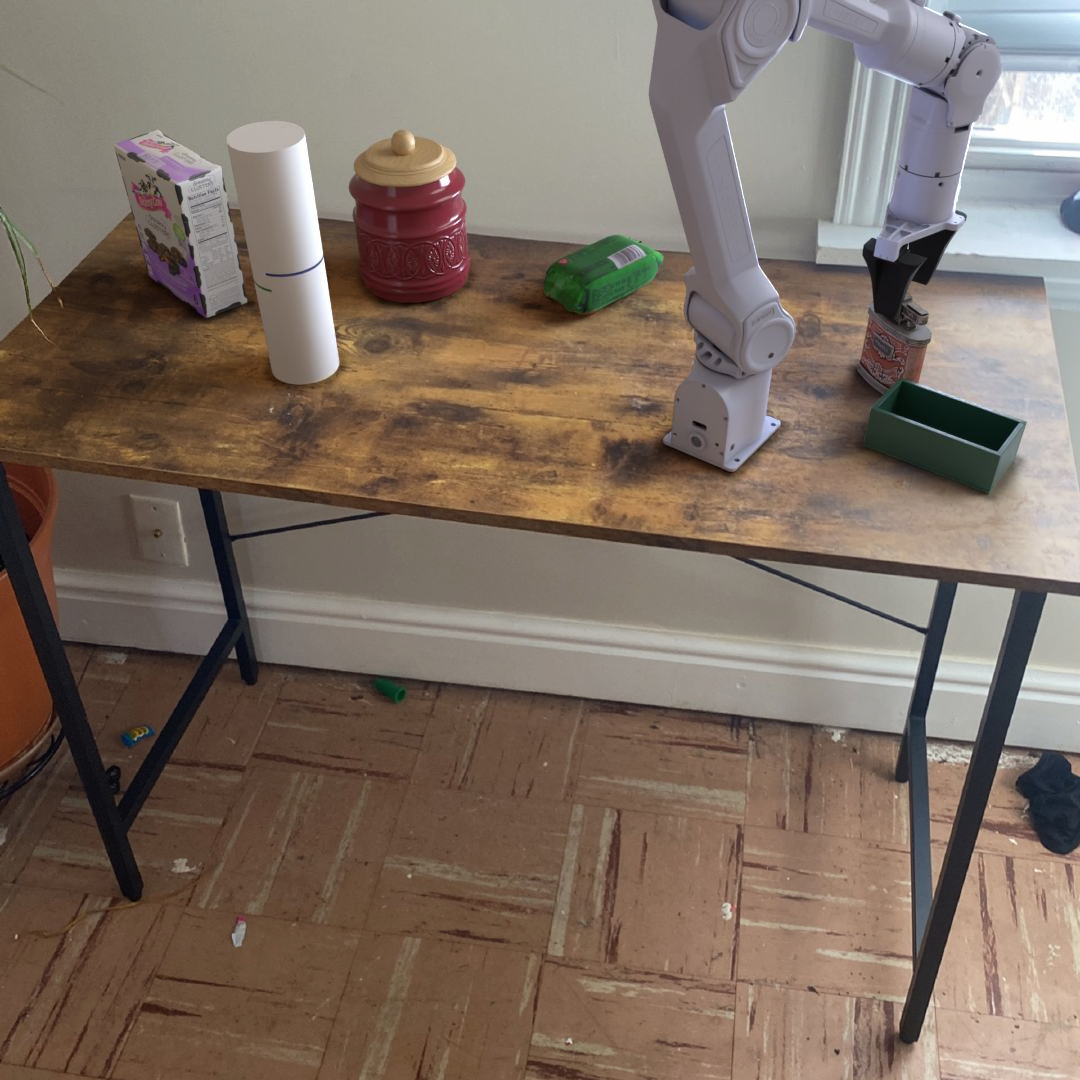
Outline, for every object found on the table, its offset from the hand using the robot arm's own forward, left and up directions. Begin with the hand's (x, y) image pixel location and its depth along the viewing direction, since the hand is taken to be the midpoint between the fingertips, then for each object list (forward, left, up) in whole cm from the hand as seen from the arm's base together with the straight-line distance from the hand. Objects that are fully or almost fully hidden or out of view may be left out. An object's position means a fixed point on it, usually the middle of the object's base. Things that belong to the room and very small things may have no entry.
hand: (901, 297), depth 115 cm
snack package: (-3, +34, -10) cm, 35 cm away
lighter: (-1, 0, -10) cm, 10 cm away
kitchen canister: (-13, +54, -10) cm, 56 cm away
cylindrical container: (-34, +51, -10) cm, 61 cm away
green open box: (-9, -9, -10) cm, 16 cm away
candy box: (-30, +73, -10) cm, 79 cm away
